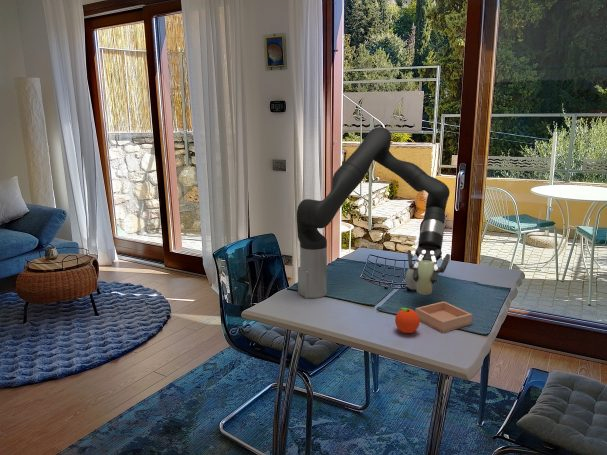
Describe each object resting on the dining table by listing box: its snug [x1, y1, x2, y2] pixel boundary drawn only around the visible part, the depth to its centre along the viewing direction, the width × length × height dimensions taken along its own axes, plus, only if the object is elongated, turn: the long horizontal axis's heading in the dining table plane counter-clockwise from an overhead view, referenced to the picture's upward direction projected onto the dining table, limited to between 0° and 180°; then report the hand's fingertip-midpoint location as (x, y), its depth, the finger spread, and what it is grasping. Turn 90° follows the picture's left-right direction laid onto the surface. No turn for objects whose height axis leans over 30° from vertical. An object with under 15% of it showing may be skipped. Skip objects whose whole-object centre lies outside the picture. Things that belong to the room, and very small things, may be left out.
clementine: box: [394, 307, 421, 334], centre depth 137 cm, size 8×7×7 cm
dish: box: [414, 300, 473, 334], centre depth 144 cm, size 12×12×3 cm
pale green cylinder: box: [416, 260, 434, 296], centre depth 152 cm, size 5×5×10 cm
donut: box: [404, 262, 417, 291], centre depth 170 cm, size 10×4×10 cm, turn 130°
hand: (424, 281), depth 151 cm, fingers closed on pale green cylinder, 4 cm apart
